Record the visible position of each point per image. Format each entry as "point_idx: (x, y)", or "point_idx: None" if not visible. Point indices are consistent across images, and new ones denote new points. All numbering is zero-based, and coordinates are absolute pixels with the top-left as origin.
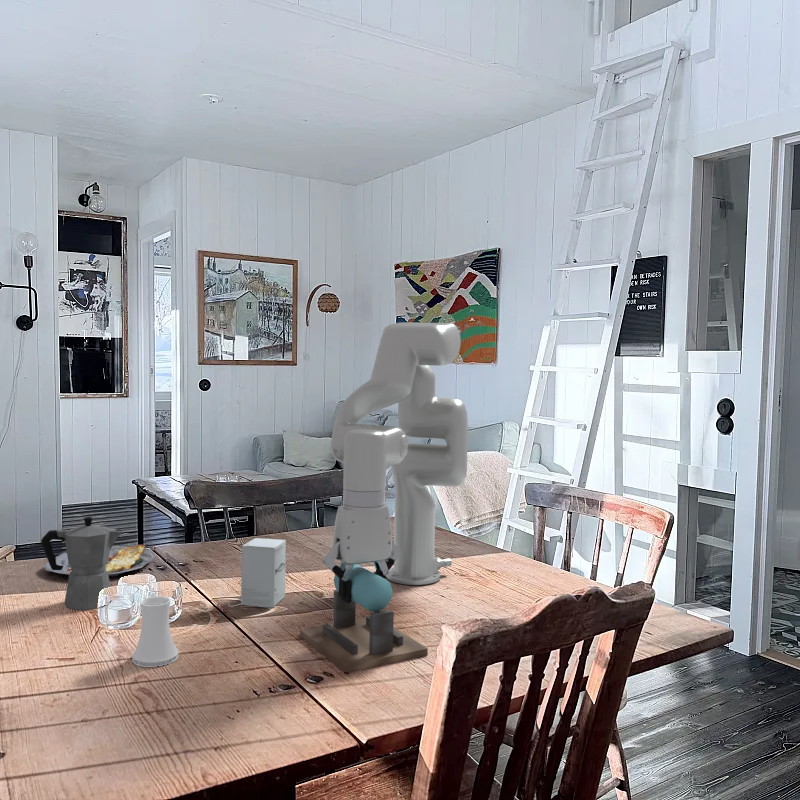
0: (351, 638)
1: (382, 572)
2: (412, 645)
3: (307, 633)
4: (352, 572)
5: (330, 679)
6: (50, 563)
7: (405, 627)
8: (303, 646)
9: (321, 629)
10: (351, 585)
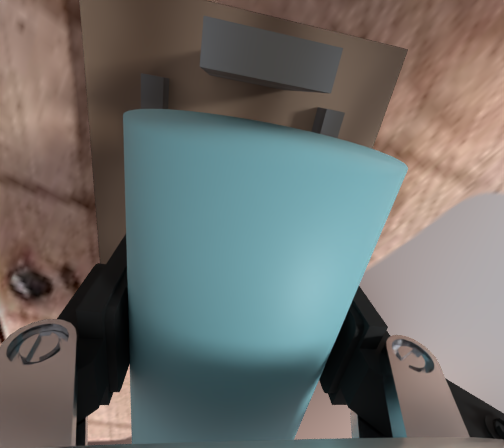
0: None
1: (351, 419)
2: None
3: (90, 43)
4: (168, 366)
5: (65, 300)
6: None
7: (410, 157)
8: (67, 92)
9: (158, 42)
10: (125, 370)
